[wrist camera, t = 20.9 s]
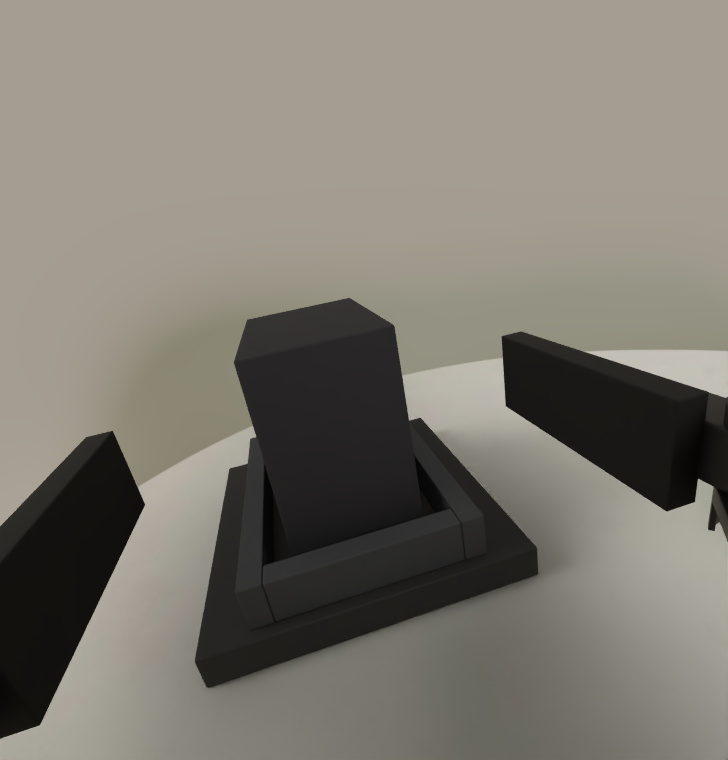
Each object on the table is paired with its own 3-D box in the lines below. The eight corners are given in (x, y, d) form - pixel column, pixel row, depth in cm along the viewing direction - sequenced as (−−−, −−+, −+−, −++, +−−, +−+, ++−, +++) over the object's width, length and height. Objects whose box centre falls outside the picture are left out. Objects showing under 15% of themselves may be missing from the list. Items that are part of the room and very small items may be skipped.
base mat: (206, 689, 15) (175, 622, 14) (235, 486, 28) (220, 442, 27) (538, 574, 17) (536, 508, 16) (423, 435, 30) (417, 392, 29)
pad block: (298, 576, 18) (233, 361, 14) (288, 471, 26) (246, 319, 23) (427, 536, 19) (394, 324, 15) (378, 446, 27) (349, 297, 23)
